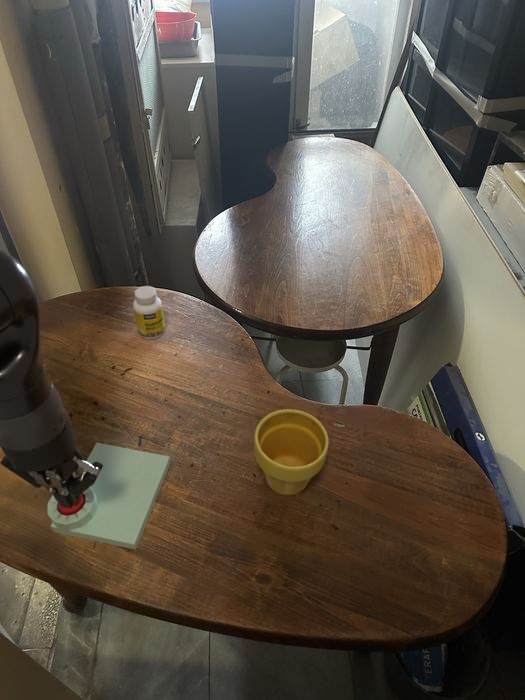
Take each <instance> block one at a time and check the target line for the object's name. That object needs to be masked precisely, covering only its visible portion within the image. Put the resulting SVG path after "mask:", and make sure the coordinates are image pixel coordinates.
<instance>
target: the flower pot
mask: <svg viewBox="0 0 525 700" xmlns="http://www.w3.org/2000/svg"><path fill="white" fill-rule="evenodd" d="M259 421H260V422H259V423H258V424H257V426H256V428H255V430H254V435H253V452H254V453H253V454H254V457H255V460H256V461H255V462H257V464H258V466H259V468H261V470H262V472H263V476H264V479H265V482H266V484H267V486H268V487H269V488H270V489H271V490H272V491H273V492H275V493H277V494H278V495H282V496H294V495H297V494H300V493H301V492H302V491H303V490H305V489H306V487H307V486H308V484H309V482H310V481H311V479H312V478H313V477H314V476H316V475H317V474H318V473H319V472H320V471H321V470H322V468H323V467H324V464H325V462H326V458H327V455H328V452H329V444H330V443H329V442H330V440H329V436H328V432H327V430H326V428H325V427H324V425H323V424H322V422H321V421H319V419H317V417H315V416H313V415H311V414H310V413H308V412H306V411H303V410H300V409H299V410H298V409H290V408H288V409H278V410H275V411H272V412H270V413H268V414H267V415H266V416H264V417H263V418H262V419H261V420H259Z"/></svg>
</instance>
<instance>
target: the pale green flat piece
mask: <svg viewBox="0 0 525 700" xmlns="http://www.w3.org/2000/svg"><path fill="white" fill-rule="evenodd" d="M85 462H87V463H91V464H93V463H94V462H100V463H101V464H103V468H102V470H101V472H100V473H99V475H98V477H97V479H96V481H95V483H94V484H93V485H92V486H90V487H89V488H88V489H87V490H85V491H84V492H83V493H81V494H82V496H83V498H84V501H85V504H84V506H83V508H82V509H81V510H80V511H79V512H77V513H76V514H73V515H69V516H66V515H63V514H62V513H61V511H60V509H59V507H58V501H57V500H55V498H54V496H53V494H51V497H50V499H49V500H48V502H47V516H48V517H49V520H50V521H51V524H50V528H51V529H52V532H53V533H56V534H61V535H66V536H70V537H75V538H80V539H84V540H88V541H93V542H97V543H102V544H107V545H112V546H116V547H121V548H125V549H129V550H135V551H136V550H137V549H138V546H139V544H140V541H141V538H142V536H143V534H144V531H145V529H146V527H147V524H148V521H149V519H150V516H151V514H152V511H153V509H154V506H155V504H156V501H157V498H158V496H159V494H160V491H161V488H162V487H163V484H164V482H165V478H166V477H167V473H168V472H169V469H170V466H171V464H172V461H171V457H170V455H169V456H168V455H164V454H158V453H152V452H147V451H143V450H137V449H132V448H126V447H120V446H115V445H110V444H105V443H99V442H96V443H95V445H94V446H93V448H92V450H91V452H90V453H89V455H88V457H87V459H86V460H85ZM78 476H79V474H78V475H77V477H78Z"/></svg>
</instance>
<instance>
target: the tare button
mask: <svg viewBox="0 0 525 700" xmlns="http://www.w3.org/2000/svg"><path fill="white" fill-rule="evenodd" d="M84 504H85V501H84V498H83V496H82V494H80V496H79V498H78V500H77V502H76V504H75V505H73V506H72V508H68V507H63V506H60V504H59V503H58V507H59V509H60V511H61V513H62V514H63V515H66V516H69V515H73V514H76V513H77V512H79V511H80V510H81V509H82V508H83V506H84Z"/></svg>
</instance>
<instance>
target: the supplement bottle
mask: <svg viewBox="0 0 525 700" xmlns="http://www.w3.org/2000/svg"><path fill="white" fill-rule="evenodd" d="M134 299H135V300H134V301H133V303H132V308H133V313H134V319H135V324H136V329H137V333H138V335H139V336H140V337H141V338H143V339H146V340H154V339H158V338H160V337H161V336H163V335H164V333H165V332H166V323H165V317H164V310H163V303H162V300H161V298H160V297H158V293H157V289H156V288H155V287H153V286H150V285H142V286H140V287H137V288H136V289H135V291H134Z"/></svg>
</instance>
